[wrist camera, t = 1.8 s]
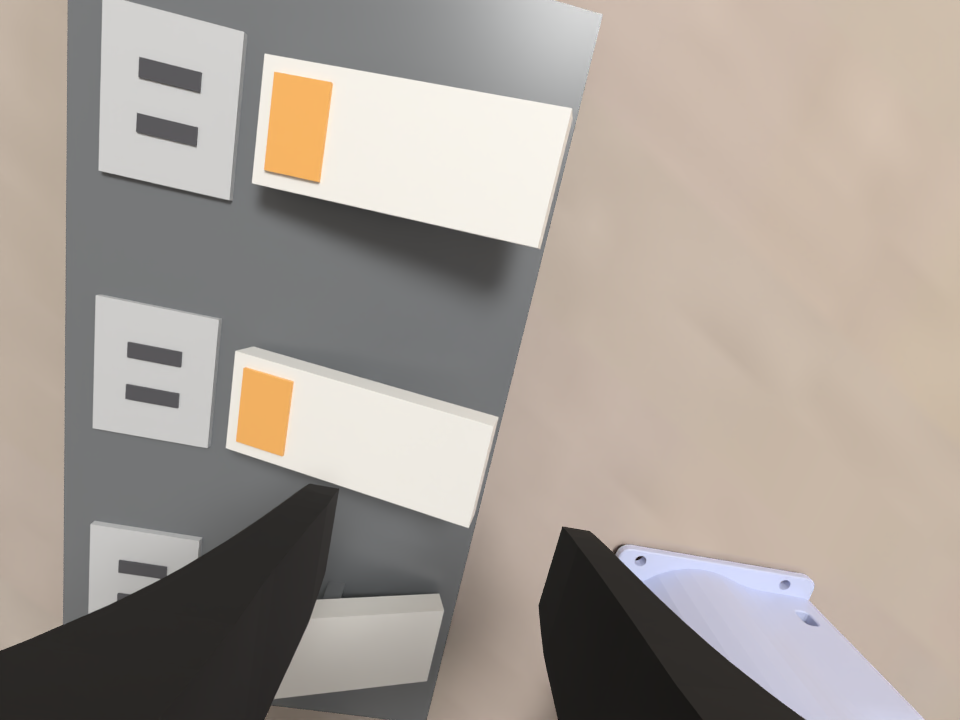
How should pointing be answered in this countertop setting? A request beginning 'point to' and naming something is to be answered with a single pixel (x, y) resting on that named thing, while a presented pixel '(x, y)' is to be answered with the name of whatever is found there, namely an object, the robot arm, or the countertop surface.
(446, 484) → the rocker middle
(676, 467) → the countertop surface
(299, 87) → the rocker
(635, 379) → the countertop surface
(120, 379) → the power strip
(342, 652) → the rocker
